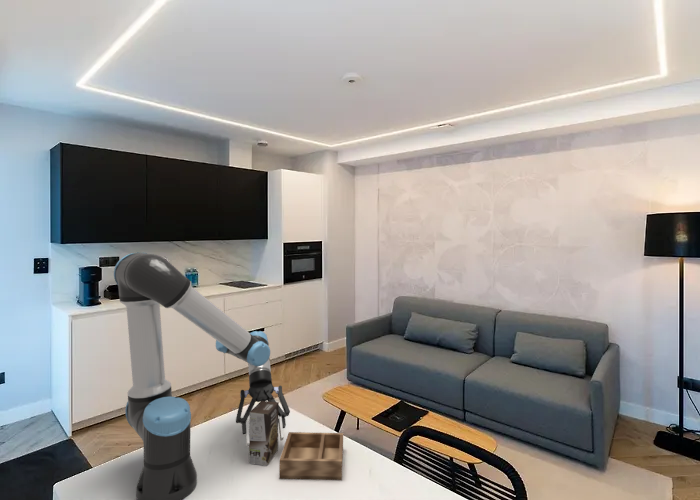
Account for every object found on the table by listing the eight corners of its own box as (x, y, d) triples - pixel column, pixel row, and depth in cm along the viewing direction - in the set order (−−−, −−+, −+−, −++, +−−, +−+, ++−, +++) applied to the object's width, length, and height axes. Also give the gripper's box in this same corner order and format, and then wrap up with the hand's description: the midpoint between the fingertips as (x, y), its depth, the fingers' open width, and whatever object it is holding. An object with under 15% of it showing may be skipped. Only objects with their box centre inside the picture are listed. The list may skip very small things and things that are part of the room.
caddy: (279, 478, 110) (279, 460, 110) (288, 448, 126) (288, 432, 126) (341, 480, 110) (341, 461, 110) (343, 449, 126) (343, 433, 126)
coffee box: (267, 466, 116) (268, 414, 116) (248, 463, 118) (248, 411, 117) (279, 450, 125) (279, 401, 125) (260, 447, 127) (261, 399, 126)
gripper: (290, 375, 139) (298, 440, 125) (226, 382, 132) (227, 451, 117) (293, 365, 134) (302, 431, 119) (226, 372, 126) (227, 443, 112)
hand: (265, 441), depth 118 cm, fingers closed on coffee box, 10 cm apart
